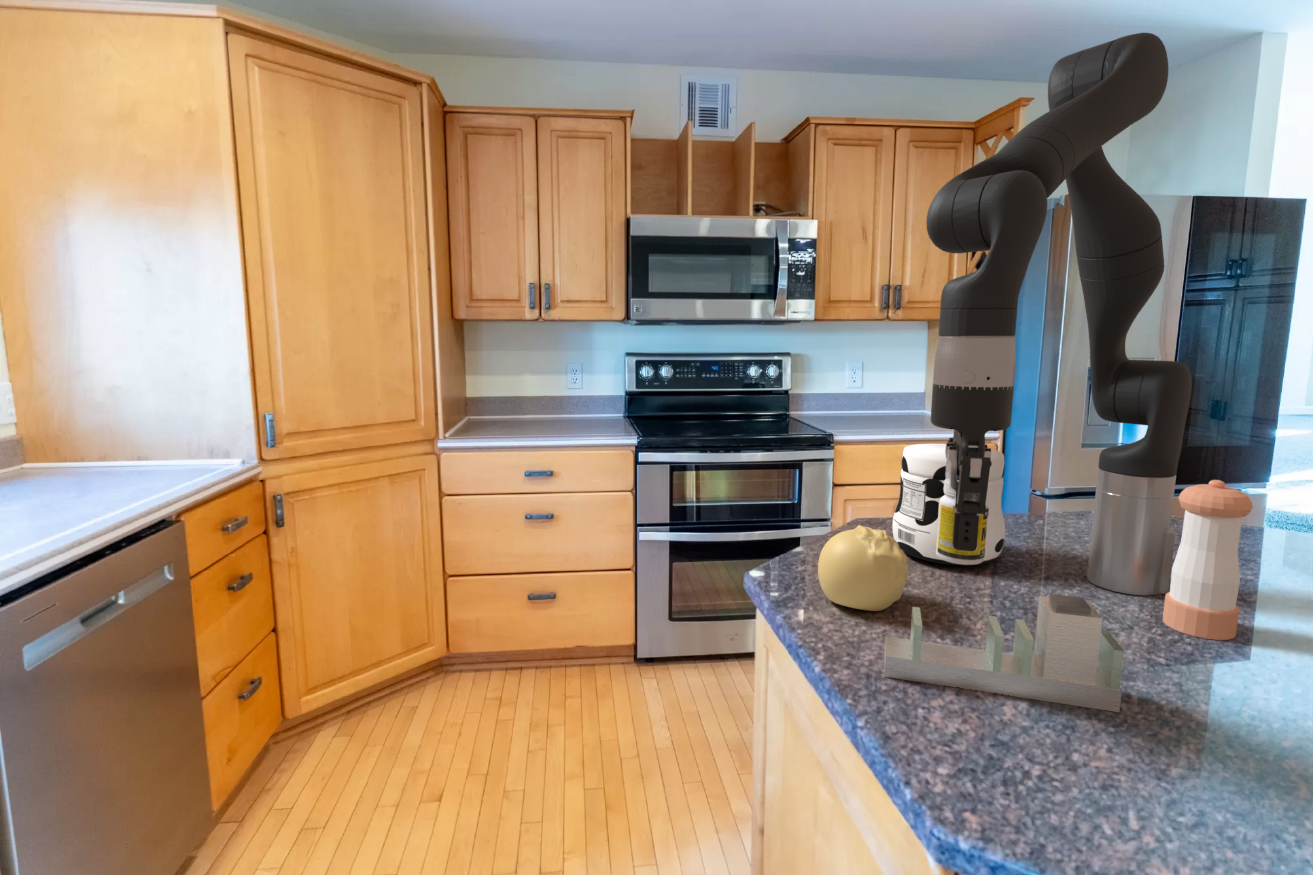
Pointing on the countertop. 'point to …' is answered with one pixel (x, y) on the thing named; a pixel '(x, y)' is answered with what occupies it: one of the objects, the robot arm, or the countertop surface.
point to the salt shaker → (1207, 562)
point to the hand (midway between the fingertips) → (961, 541)
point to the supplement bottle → (946, 531)
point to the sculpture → (863, 569)
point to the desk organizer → (1023, 658)
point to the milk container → (922, 502)
